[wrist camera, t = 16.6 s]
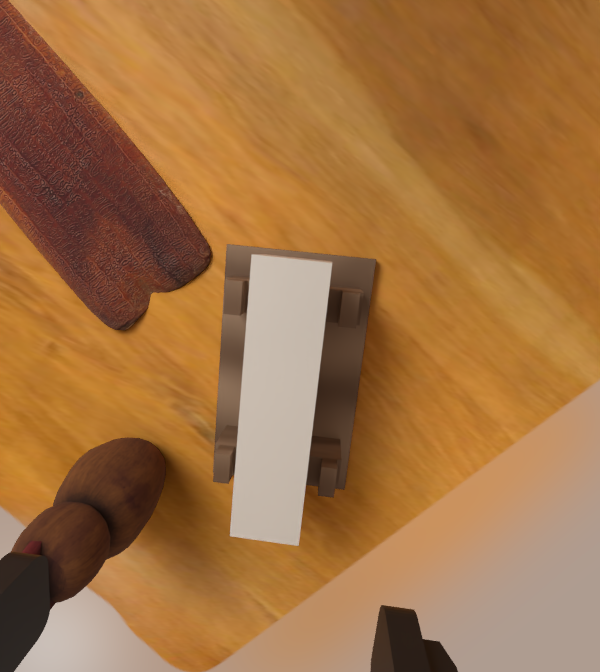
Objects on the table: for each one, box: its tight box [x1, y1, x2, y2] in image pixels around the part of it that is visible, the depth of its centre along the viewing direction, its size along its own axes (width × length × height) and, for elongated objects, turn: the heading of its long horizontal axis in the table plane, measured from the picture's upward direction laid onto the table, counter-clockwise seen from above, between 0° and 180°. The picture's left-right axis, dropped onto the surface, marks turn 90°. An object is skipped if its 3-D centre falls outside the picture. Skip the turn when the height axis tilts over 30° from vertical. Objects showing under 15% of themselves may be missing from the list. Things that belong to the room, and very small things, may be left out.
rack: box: [213, 244, 376, 498], centre depth 27 cm, size 17×10×5 cm, turn 174°
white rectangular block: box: [230, 254, 332, 546], centre depth 23 cm, size 16×4×4 cm, turn 174°
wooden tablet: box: [0, 0, 211, 330], centre depth 27 cm, size 27×10×2 cm, turn 38°
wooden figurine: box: [11, 438, 166, 609], centre depth 24 cm, size 7×6×15 cm
